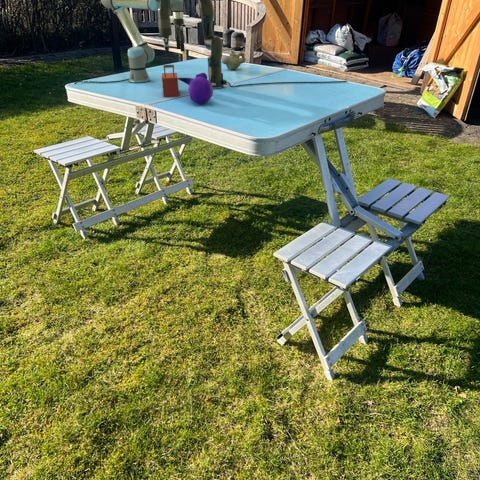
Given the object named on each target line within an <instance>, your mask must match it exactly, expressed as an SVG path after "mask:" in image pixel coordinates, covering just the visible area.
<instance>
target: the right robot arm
mask: <svg viewBox="0 0 480 480" xmlns="http://www.w3.org/2000/svg"><path fill="white" fill-rule="evenodd" d="M155 1H156V2H158V3H160V8H159V9H158V11H157V18H158V19H157V20H158V21H157V23H158V24H157V25H158V32H159V33H158V35H159V36H160V37H163V38H162V43H163V47H164V51H165V52H164V53H165V57H167V58H168V57H170V38H169V37H171V36H173V33H172V23H171V14H170V10H171V9H170V1H171V0H155ZM197 5H198V10H199V15H200V20H201V26H202V32H203V43H204V47H205V48H206V50H208V51H210V55H209V56H207V77H208V80H209V81H210V83H211V84H212V88H213V90H218V89H219V90H220V89H223V88H224V86H226V85H227V84H228V85H229V87H230V88H238V87H243V86H244V87H245V86H257V85H275V84H330V83H333V84H335V83H337V84H338V83H348V80H333V81H278V82H276V81H275V82H257V83H246V84H245V83H243V84H238V85H231V83H230V82H228V81H227V80H226V79H225V78H224V73H223V70H222V59H223V40H222V38H221V37H220V36H218V35H214V30H213V23H214V19H215V18H214V17H215V9H214V3H213V0H197Z"/></svg>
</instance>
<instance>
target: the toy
mask: <svg viewBox="0 0 480 480" xmlns="http://www.w3.org/2000/svg"><path fill="white" fill-rule="evenodd" d="M178 81H181V82H182V83H184V84H186V85H188V96H189V98H190V100H191V101H192V102H193V103H195V104H198V105H205V104H207V103H208V102H209V101H210V100H211V99H212V97H213V94H214V89H213V88H212V84H211V83H210V81H209V79H208V74H206V73H205V72H201V73H197V74H196V75H195V77H193V78H192V77H178Z"/></svg>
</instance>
